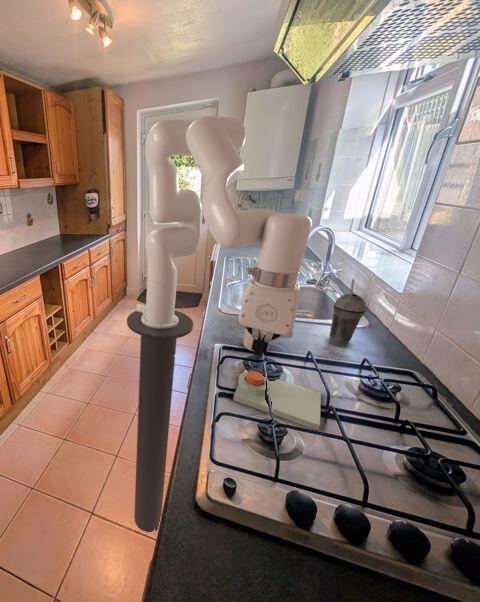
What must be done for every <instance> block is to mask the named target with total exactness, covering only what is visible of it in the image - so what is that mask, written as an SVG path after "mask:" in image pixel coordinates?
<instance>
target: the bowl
mask: <svg viewBox="0 0 480 602" xmlns="http://www.w3.org/2000/svg"><path fill="white" fill-rule="evenodd" d="M260 333H261V336H262V338H263V337H264V335H266V334H267V331H263V330H260ZM242 344H243V347H245V348H246V349H247V350H249V351H251V352H254V350H251V348H252V344H253V338H252V335H251V334H250V333H249V331H248V330H247V329H246V328H245V330H244V335H243V341H242ZM270 344H271V341H270V342H269V344H268V348H267V351H268V350H269V348H270Z"/></svg>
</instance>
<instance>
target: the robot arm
mask: <svg viewBox="0 0 480 602" xmlns="http://www.w3.org/2000/svg"><path fill="white" fill-rule="evenodd" d="M246 138H247V131H246V128H245V124H244V123H243V122H242V121H241V120H240V119H238V118H236V117H231V116H218V115H206V116H201V117H199V118H197V119H195V120H185V119H164V120H160V121H158V122H156V123H155V124H153V125H152V127H151V128H150V129H149V131H148V134H147V136H146V138H145V139H146V140H145V144H144V145H145V147H144V153H145V155H144V156H145V161H146V165H147V170H148V177H149V181H148V182H149V185H148V186H149V187H148V189H149V214H150V218H151V220H152V221H153V222H154V223H156V224H172V223H173V224H174V223H177V226H170V227H169V226H168V227H161V228H156V229H153V230H151V231H150V232H149V233H148V234H147V235H146V238H145V243H144V244H145V253H146V260H147V261H146V262H147V277H146V298H145V299H146V300H145V301H146V303H145V305H144V304H139V303H138V304H137V305H136V310H135V311H137V312H141V313H142V314H143V315H142V316H141V321H142V323H143V324H145V325H146V326H148V327H151V328H156V329H168V328H172V327H175V326H176V325H177V324H178V317H177V316H176V315H174V310H175V308H176V299H177V284H178V269H177V267H176V265H175V263H174V261H173V259H176V258H181V257H187V256H192V255H194V254H196V253H197V251H198V250H199V248H200V245H201V239H202V237H201V236H202V216H203V219H204V221H205V223H206V225H207V227H208V230H209V232H210V234H211V236H212V238H214V240H215V242H217V244H219V245H220V246H221V247H223V248H226V249H238V248H244V247H252V246H253V247H254V246H260V249H259V253H258V258H257V264H256V266H255V267H248V270H247V275H251V276H252V277H253V278H251V279H250V280H249V282H248V284H247V286H246V289H245V291H244V295H243V300H242V302H241V306H240V310H239V315H238V321H237V323H236V324H237V326H239V327H241V328H243V329H245V330H246V329H247V330H248V331H249V333H250V334H251V335H252V338H253V344H252V348H251V350H254V351H253V354H252V355H253V356H254V357H256V356H257V357H258V358H262V357H263V354H267V352H268V350H267V348H268V344H269V342H270V343H271V342H272V341H274V340H276V339H278V338H282V339H285V338H286V339H291V338H293V336H294V335H293V334H294V332H293V331H294V330H293V329H294V326H295V322H296V318H297V313H298V308H299V303H300V292H301V290H300V285H298V281H299V276H300V271H301V267H302V264H303V261H304V257H305V254H306V249H307V245H308V242H309V238H310V234H311V230H312V225H313V221H312V218H310V216H308V215H305V214H299V213H283V212H280V211H276V210H273V209H269V208H256V209H255V208H254V209H242V210H236V207H234V204H233V203H232V201H231V199H230V197H229V194H228V190H227V188H228V187H230V186H231V185H232V184H233V183H234V182H235V181H237V180H238V179H239V178H240V177H241V175H242V173H243V172H244V169H245V163H244V161H243V159H242V157H241V156H240V154H239V152H240V151H241V149H243V147H244V145H245V142H246ZM173 156H174V157H175V156H177V157H178V156H179V157H192V159H193V160H194V163H195V164H196V166H197V168H198V170H199V172H200V174H201V177H202V179H203V181H204V183H205V188H204V191H203V195H202V201H201V198H200V196H199V194H198V193H197V192H196V191H194V190H191V189H180V182H179V181H180V174H179V170H178V168H177V166H176V163H175V161H173V159H172V157H173ZM175 311H176V310H175ZM260 330H263V331H267V334H266V335H264V337H263V338H262V336H261V333H260ZM251 350H250V351H251Z"/></svg>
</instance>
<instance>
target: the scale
mask: <svg viewBox="0 0 480 602" xmlns="http://www.w3.org/2000/svg"><path fill="white" fill-rule="evenodd" d="M247 370H248V369H244V371H243V372H242V373H240V374H239V376H238V379H237V380H238V381H237V384H238V385H237V387H236V390H235V391H234V394H233V398H232V401H235V402H237V403H240V404H243V405H246V406H248V407H251V408H253V409H255V410H256V409H257V410H260V411H262V412H265V413H267V414H270V413H269V409H268V404H267V402H266V400H265V390H266V377H264V382H263V385H262V386H254V385H251V384H249V383H248V382H247V381H246V376H247V373H248V371H249V370H248V371H247ZM276 379H277V380H275V381H269V380H268V379H267V391H268V394H269V396H270V398H271V401H272V408H273V414H272V415H274V416H276V417H279V418H281V419H285V420H288V421H290V422H293V423H296V424H298V425H302V426H304V427H307V428H309V429H312V430H315V431H319V430H320V427H321V407H322V405H321V404H322V392H321V391H318V390H316V389H312V388H308V387H306V386H302V385H300V384H299V385H298V384H295V383H292V382H288V381H285V380H282V379H278V378H276Z"/></svg>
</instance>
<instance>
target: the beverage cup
mask: <svg viewBox="0 0 480 602" xmlns="http://www.w3.org/2000/svg"><path fill="white" fill-rule="evenodd" d="M354 284H355V279H353V278H352V279H351V283H350V290H349V293H345V294H342V295H341V296H339V297H338V298H337V299H336V300H335V302H334V303H333V315H332V320H331V326H330V331H329V338H328V343H330V344H332V345H335V346H336V347H341V348H345V347H348V345H349V344H350V342H351V340H352V337H353V336H354V333H355V331H356V330H357V327H358V325H359V323H360V321H361V319H362V317H363V316H364V314H365V313H366V312H367V310H366V309H367V305H366V301H365V299H364V298H363V297H361V295H359V294H356V293H353V290H354Z"/></svg>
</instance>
